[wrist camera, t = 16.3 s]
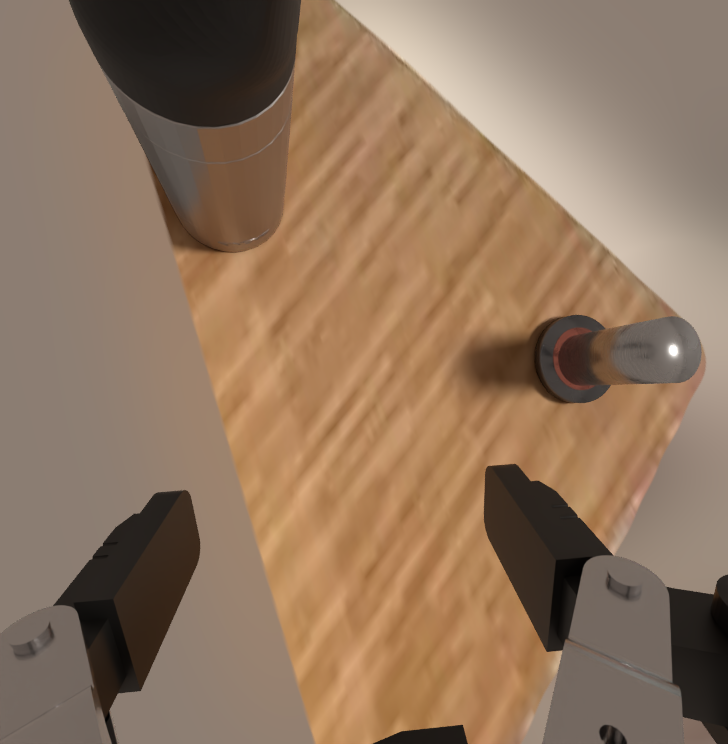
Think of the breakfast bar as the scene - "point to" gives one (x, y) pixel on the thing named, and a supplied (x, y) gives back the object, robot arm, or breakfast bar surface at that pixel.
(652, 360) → the grey metal cylinder
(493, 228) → the breakfast bar surface
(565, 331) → the flange pad
